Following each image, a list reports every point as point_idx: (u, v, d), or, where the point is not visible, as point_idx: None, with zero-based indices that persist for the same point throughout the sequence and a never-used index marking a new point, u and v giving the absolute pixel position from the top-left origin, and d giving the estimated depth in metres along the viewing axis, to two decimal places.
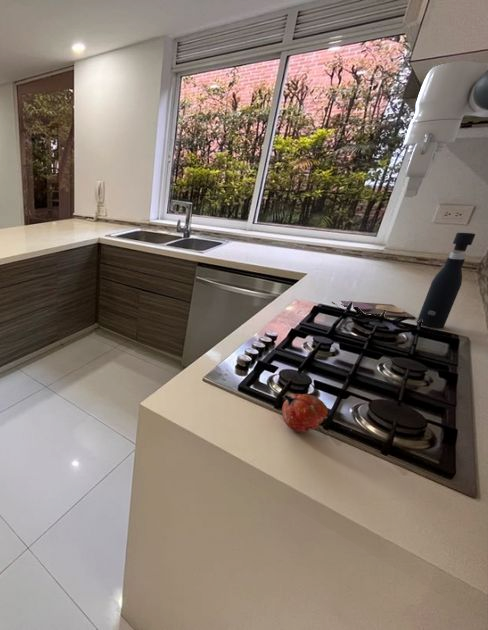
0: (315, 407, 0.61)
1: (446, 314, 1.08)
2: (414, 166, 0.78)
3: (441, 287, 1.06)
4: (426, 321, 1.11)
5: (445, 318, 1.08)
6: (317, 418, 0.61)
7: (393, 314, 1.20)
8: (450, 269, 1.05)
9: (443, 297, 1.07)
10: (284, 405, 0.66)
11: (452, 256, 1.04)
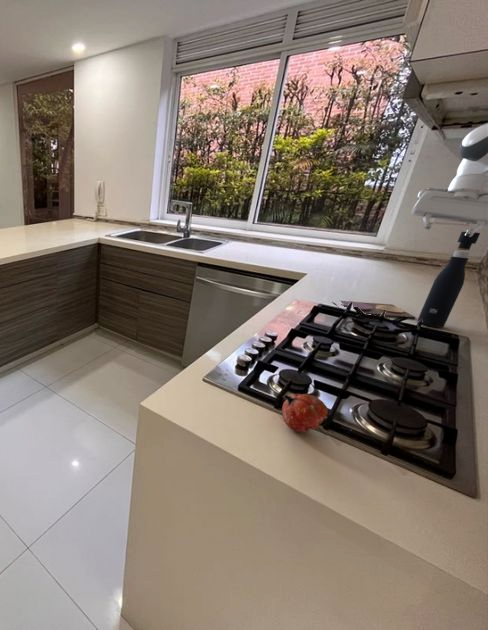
0: (315, 407, 0.61)
1: (447, 313, 1.08)
2: None
3: (444, 285, 1.07)
4: (427, 319, 1.11)
5: (446, 317, 1.08)
6: (317, 418, 0.61)
7: (393, 314, 1.20)
8: (453, 267, 1.06)
9: (445, 295, 1.07)
10: (284, 405, 0.66)
11: (456, 254, 1.05)
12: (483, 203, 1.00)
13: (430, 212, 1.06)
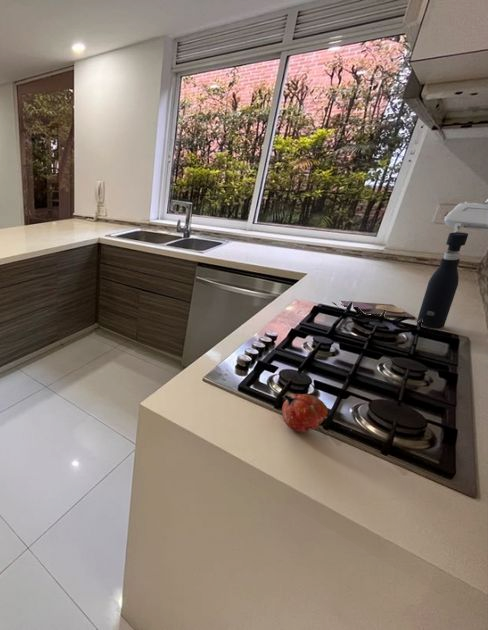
0: (315, 407, 0.61)
1: (445, 313, 1.08)
2: None
3: (438, 288, 1.06)
4: (426, 321, 1.11)
5: (445, 317, 1.08)
6: (317, 418, 0.61)
7: (393, 314, 1.20)
8: (445, 270, 1.04)
9: (440, 297, 1.06)
10: (284, 405, 0.66)
11: (446, 257, 1.03)
12: None
13: (460, 221, 1.09)
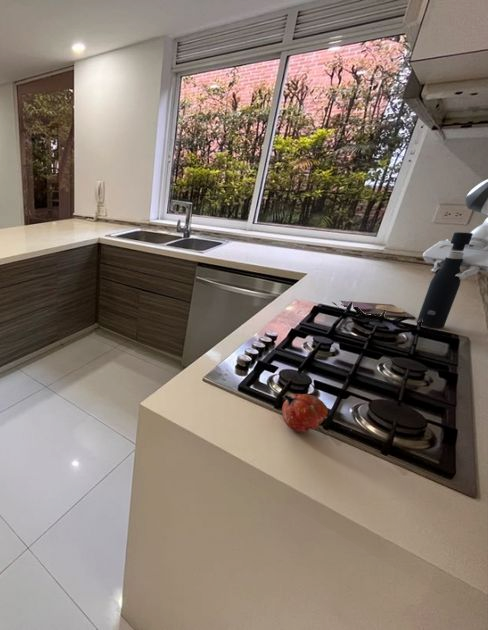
0: (315, 407, 0.61)
1: (446, 314, 1.08)
2: None
3: (440, 287, 1.07)
4: (426, 321, 1.11)
5: (445, 318, 1.08)
6: (317, 418, 0.61)
7: (393, 314, 1.20)
8: (448, 268, 1.05)
9: (442, 296, 1.07)
10: (284, 405, 0.66)
11: (450, 256, 1.05)
12: None
13: (435, 258, 1.11)
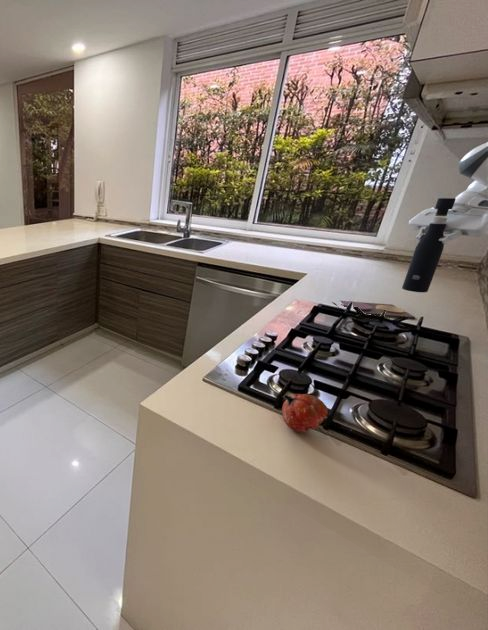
0: (315, 407, 0.61)
1: (429, 278, 1.12)
2: None
3: (424, 251, 1.11)
4: (411, 286, 1.15)
5: (429, 282, 1.13)
6: (317, 418, 0.61)
7: (393, 314, 1.20)
8: (432, 233, 1.09)
9: (426, 261, 1.11)
10: (284, 405, 0.66)
11: (434, 221, 1.09)
12: (470, 216, 1.05)
13: (420, 225, 1.15)
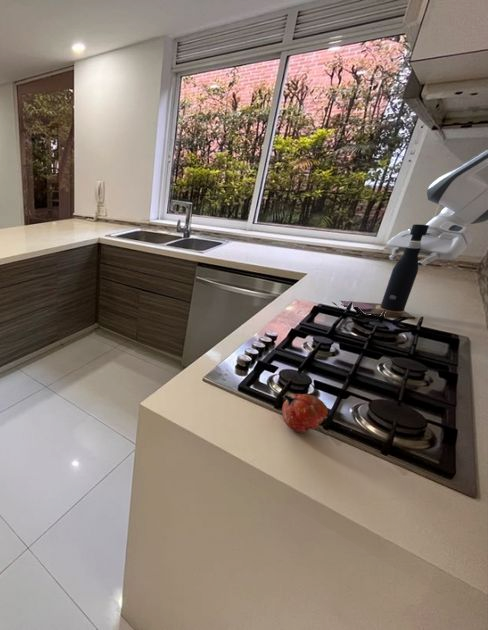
0: (315, 407, 0.61)
1: (405, 298, 1.20)
2: None
3: (400, 273, 1.18)
4: (388, 305, 1.23)
5: (404, 302, 1.20)
6: (317, 418, 0.61)
7: (393, 314, 1.20)
8: (407, 257, 1.17)
9: (402, 282, 1.18)
10: (284, 405, 0.66)
11: (409, 245, 1.16)
12: (442, 239, 1.13)
13: (397, 246, 1.22)
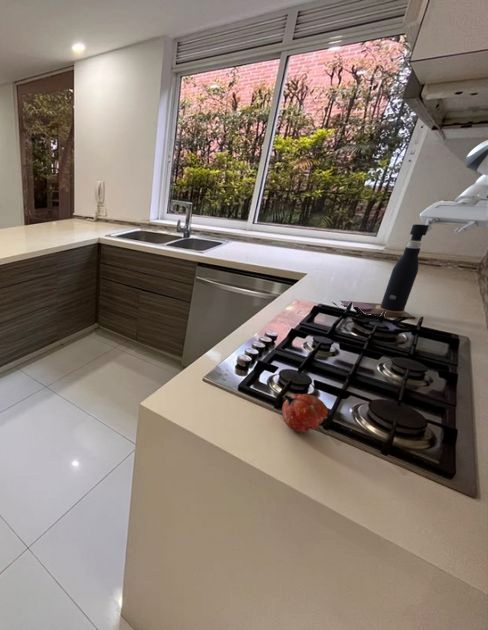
0: (315, 407, 0.61)
1: (405, 298, 1.20)
2: None
3: (400, 273, 1.18)
4: (388, 305, 1.23)
5: (404, 302, 1.20)
6: (317, 418, 0.61)
7: (393, 314, 1.20)
8: (407, 257, 1.17)
9: (402, 282, 1.18)
10: (284, 405, 0.66)
11: (409, 245, 1.16)
12: (479, 207, 1.11)
13: (431, 217, 1.21)
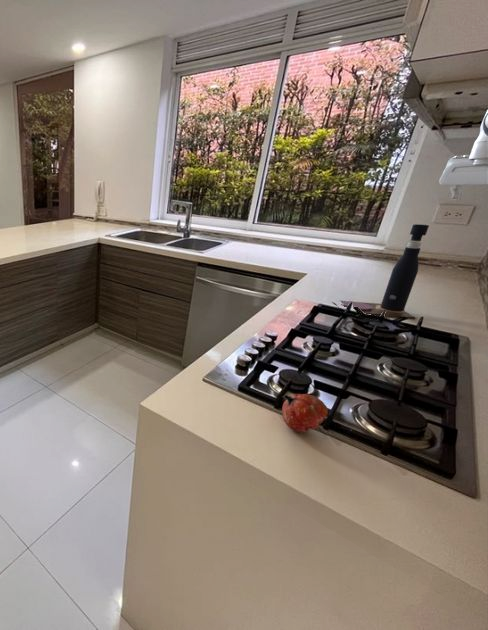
0: (315, 407, 0.61)
1: (405, 298, 1.20)
2: None
3: (400, 273, 1.18)
4: (388, 305, 1.23)
5: (404, 302, 1.20)
6: (317, 418, 0.61)
7: (393, 314, 1.20)
8: (407, 257, 1.17)
9: (402, 282, 1.18)
10: (284, 405, 0.66)
11: (409, 245, 1.16)
12: None
13: (453, 184, 1.11)
